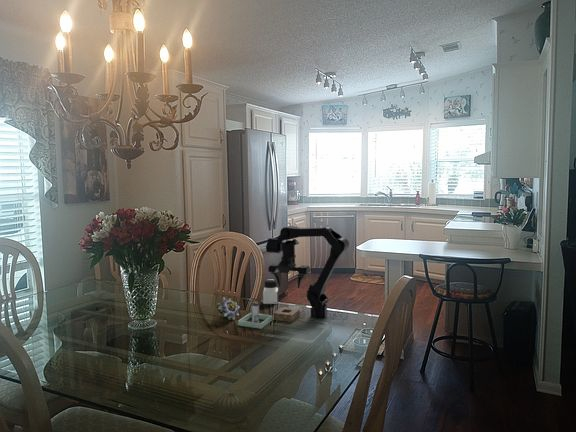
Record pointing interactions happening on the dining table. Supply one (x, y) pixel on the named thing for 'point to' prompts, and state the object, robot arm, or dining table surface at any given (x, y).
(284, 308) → the holder block
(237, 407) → the dining table surface
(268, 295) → the medicine bottle
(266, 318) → the mint green square frame
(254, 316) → the metal pin
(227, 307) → the passion flower
